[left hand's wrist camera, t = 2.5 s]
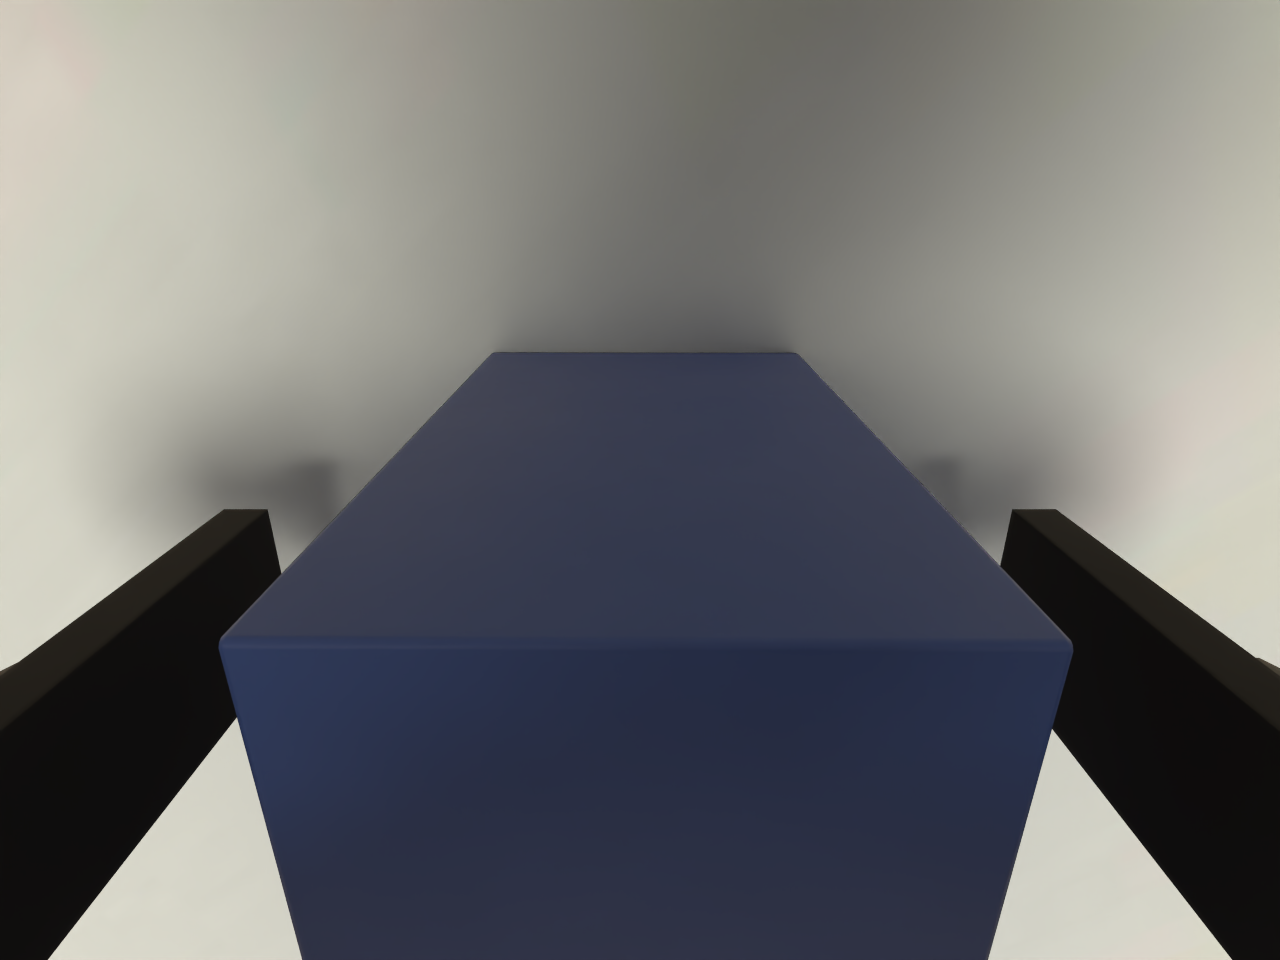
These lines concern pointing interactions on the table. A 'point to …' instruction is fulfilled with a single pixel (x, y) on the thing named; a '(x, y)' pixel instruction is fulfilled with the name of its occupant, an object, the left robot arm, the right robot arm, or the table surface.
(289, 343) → the table surface
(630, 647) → the box
